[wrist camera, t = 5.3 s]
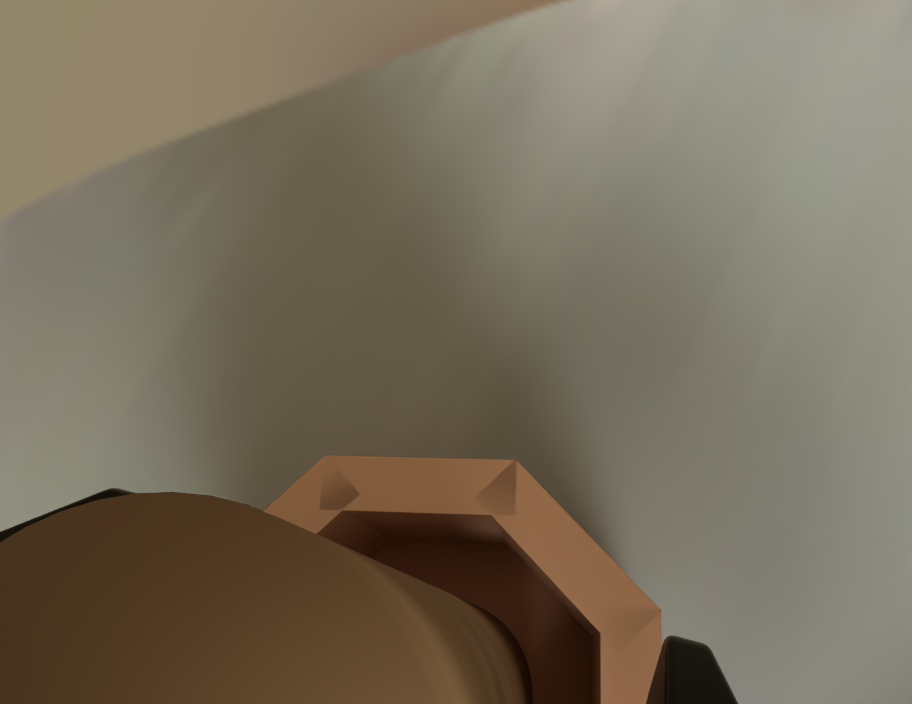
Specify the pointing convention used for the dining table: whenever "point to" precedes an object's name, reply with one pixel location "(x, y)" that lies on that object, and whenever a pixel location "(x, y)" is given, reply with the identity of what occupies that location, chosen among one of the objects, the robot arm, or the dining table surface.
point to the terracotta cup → (493, 562)
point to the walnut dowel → (231, 615)
